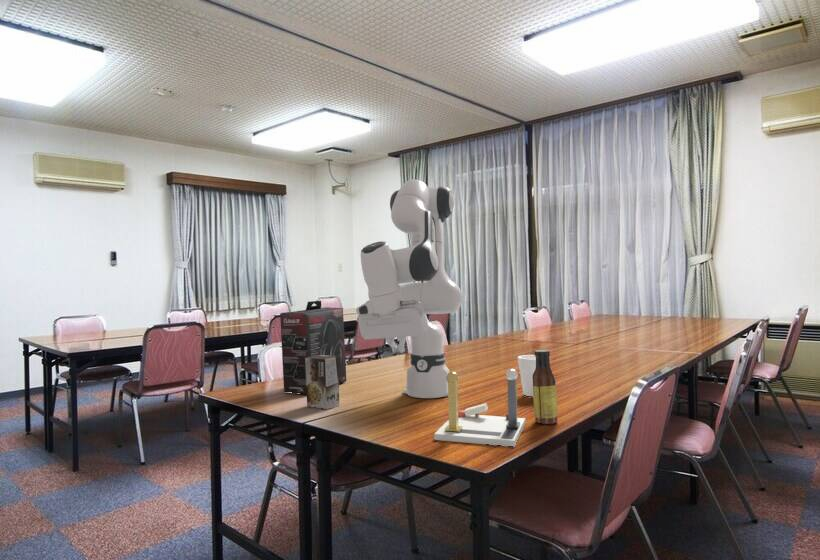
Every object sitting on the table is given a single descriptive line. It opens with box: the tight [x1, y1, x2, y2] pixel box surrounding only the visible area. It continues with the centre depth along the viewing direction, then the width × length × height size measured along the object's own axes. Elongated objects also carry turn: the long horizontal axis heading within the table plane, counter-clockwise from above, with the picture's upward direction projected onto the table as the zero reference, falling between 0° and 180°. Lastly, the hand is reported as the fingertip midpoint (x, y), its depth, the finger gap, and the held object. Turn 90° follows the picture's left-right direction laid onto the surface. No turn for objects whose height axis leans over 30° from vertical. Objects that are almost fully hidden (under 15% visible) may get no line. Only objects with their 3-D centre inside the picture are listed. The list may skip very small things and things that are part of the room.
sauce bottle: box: [532, 349, 559, 425], centre depth 142 cm, size 7×6×20 cm
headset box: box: [279, 300, 347, 395], centre depth 194 cm, size 24×13×33 cm, turn 154°
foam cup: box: [517, 354, 536, 397], centre depth 173 cm, size 10×9×13 cm
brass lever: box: [445, 371, 463, 432], centre depth 131 cm, size 3×4×15 cm
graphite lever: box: [505, 368, 520, 429], centre depth 133 cm, size 4×3×15 cm
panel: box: [433, 409, 527, 448], centre depth 135 cm, size 20×20×3 cm
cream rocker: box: [464, 402, 489, 417], centre depth 143 cm, size 3×6×2 cm, turn 70°
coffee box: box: [305, 355, 340, 410], centre depth 166 cm, size 9×6×16 cm
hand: (399, 352), depth 138 cm, fingers closed
